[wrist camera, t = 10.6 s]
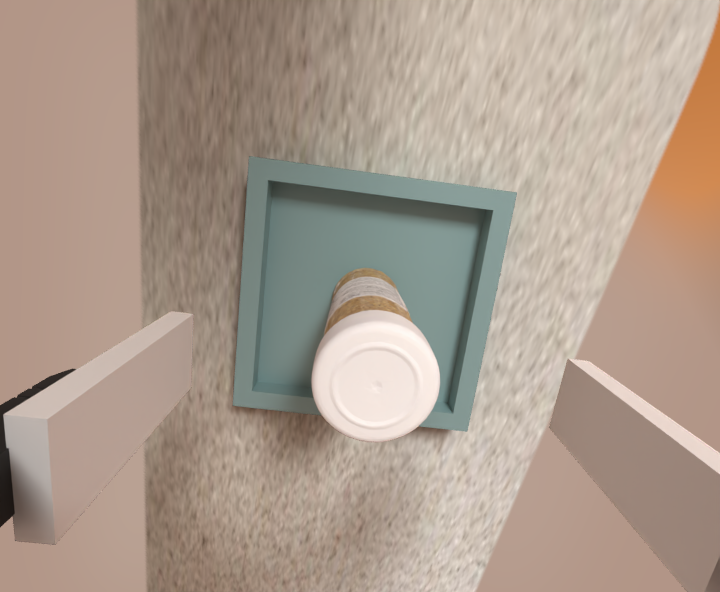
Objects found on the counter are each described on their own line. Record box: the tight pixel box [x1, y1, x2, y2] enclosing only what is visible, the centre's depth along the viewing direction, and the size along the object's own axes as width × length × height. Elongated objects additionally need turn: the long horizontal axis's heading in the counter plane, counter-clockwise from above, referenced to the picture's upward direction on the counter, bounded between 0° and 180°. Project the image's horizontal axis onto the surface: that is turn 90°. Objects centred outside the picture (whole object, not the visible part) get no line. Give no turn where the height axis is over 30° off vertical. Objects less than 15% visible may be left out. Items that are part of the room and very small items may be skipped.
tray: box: [233, 156, 517, 432], centre depth 26 cm, size 16×16×2 cm
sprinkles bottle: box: [311, 268, 440, 442], centre depth 20 cm, size 5×5×14 cm
